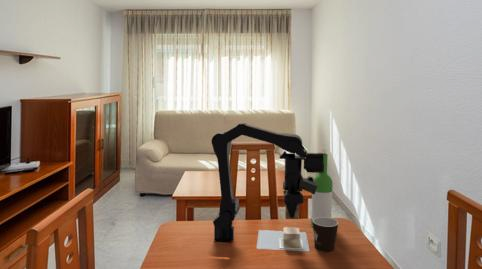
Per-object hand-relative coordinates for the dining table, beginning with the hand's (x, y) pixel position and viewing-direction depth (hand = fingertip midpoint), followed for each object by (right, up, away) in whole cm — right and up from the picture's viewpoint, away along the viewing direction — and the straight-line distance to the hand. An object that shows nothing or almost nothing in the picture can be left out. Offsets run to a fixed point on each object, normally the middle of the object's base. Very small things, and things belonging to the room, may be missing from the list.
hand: (291, 215), depth 124 cm
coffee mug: (+11, -12, 0) cm, 16 cm away
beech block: (0, -11, +1) cm, 11 cm away
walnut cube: (0, -1, 0) cm, 1 cm away
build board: (-3, -11, +5) cm, 12 cm away
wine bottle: (+14, -9, +18) cm, 25 cm away
